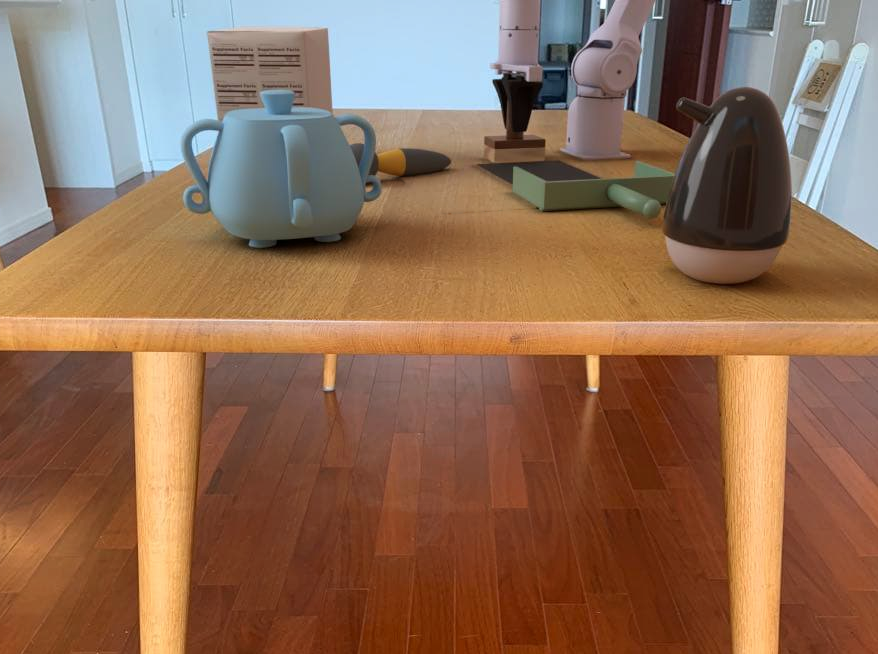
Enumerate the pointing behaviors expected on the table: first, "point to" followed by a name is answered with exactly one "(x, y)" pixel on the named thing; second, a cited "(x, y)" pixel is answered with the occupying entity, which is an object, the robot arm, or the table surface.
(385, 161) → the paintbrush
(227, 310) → the table surface
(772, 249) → the pump dispenser
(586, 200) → the dustpan
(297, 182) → the decorative pot
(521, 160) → the brush
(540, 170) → the mat
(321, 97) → the supplement box
